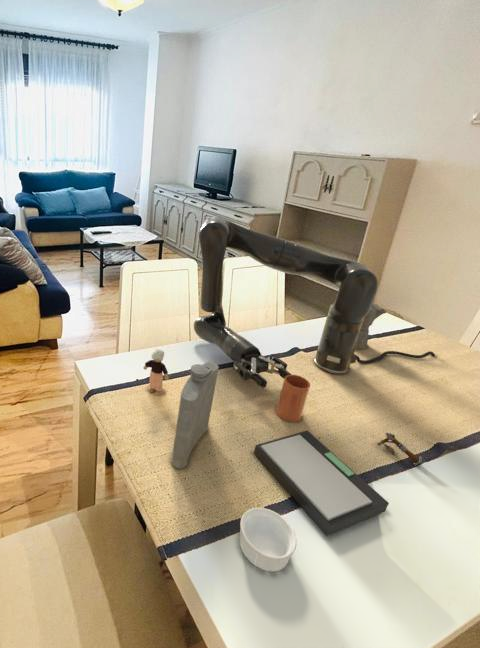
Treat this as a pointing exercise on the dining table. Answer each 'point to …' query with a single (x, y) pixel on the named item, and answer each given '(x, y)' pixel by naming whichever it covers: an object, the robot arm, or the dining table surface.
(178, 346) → the dining table surface
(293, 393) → the tumbler
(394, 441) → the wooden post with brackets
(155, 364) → the grandmother figurine
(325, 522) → the scale
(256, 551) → the ramekin
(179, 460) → the hip flask
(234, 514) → the dining table surface
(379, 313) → the coffeepot
